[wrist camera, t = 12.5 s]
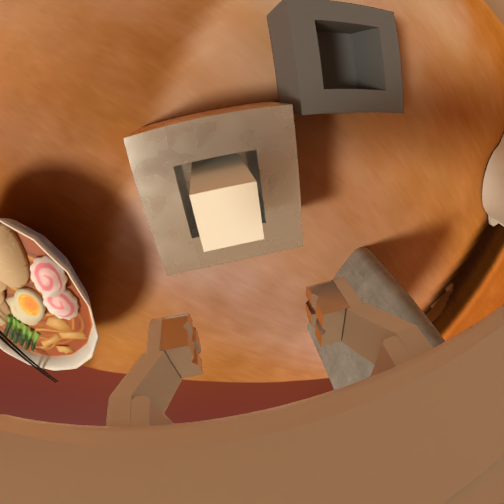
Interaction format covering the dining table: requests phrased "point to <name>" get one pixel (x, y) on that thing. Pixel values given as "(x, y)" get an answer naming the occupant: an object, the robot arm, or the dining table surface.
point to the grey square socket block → (336, 57)
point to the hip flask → (381, 296)
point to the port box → (208, 146)
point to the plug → (225, 202)
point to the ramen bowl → (42, 303)
